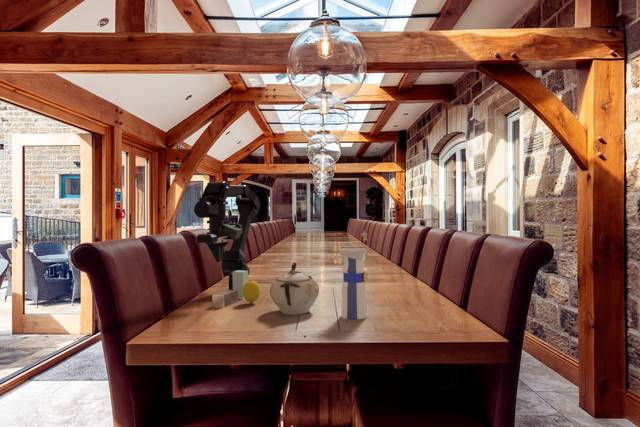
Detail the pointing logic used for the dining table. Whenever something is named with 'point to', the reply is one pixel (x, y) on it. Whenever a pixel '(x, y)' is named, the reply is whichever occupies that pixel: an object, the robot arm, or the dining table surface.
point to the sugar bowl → (294, 292)
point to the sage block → (240, 281)
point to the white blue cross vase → (354, 283)
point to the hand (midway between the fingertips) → (218, 261)
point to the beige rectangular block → (225, 298)
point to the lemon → (251, 291)
